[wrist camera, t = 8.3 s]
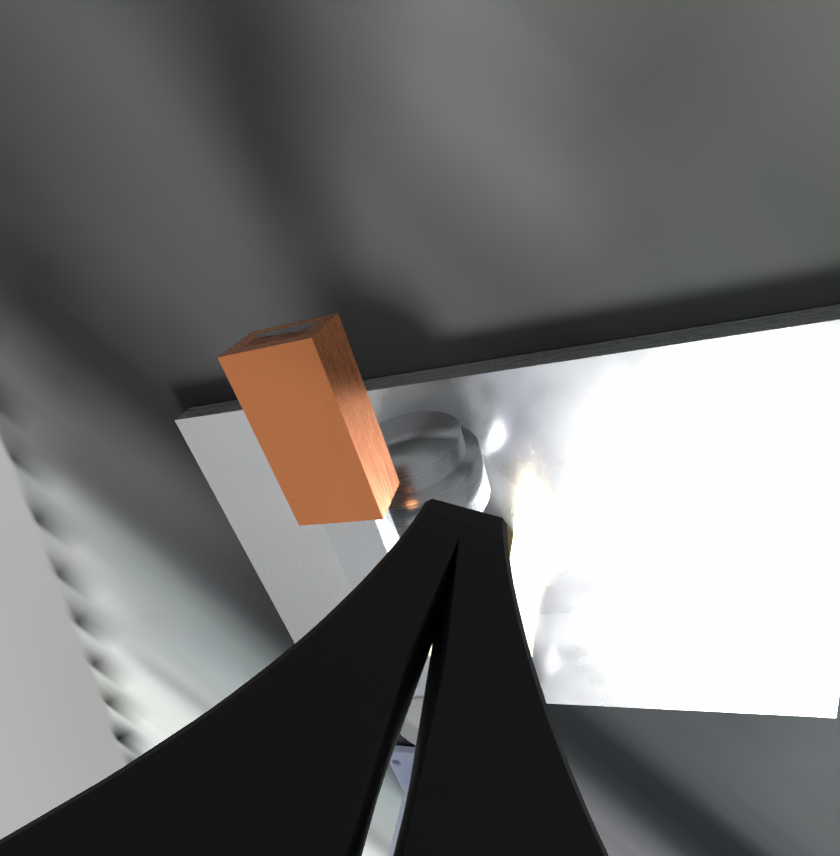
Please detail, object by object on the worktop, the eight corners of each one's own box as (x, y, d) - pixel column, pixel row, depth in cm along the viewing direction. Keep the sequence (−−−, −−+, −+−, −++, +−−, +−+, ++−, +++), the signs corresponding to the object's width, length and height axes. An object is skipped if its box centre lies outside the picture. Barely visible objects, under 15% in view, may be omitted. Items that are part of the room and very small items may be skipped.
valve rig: (826, 693, 22) (896, 866, 17) (328, 674, 29) (278, 791, 24) (864, 300, 15) (1005, 406, 10) (189, 407, 22) (80, 498, 17)
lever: (492, 720, 18) (486, 764, 17) (416, 716, 19) (405, 758, 18) (346, 310, 12) (320, 335, 10) (243, 333, 13) (209, 359, 11)
